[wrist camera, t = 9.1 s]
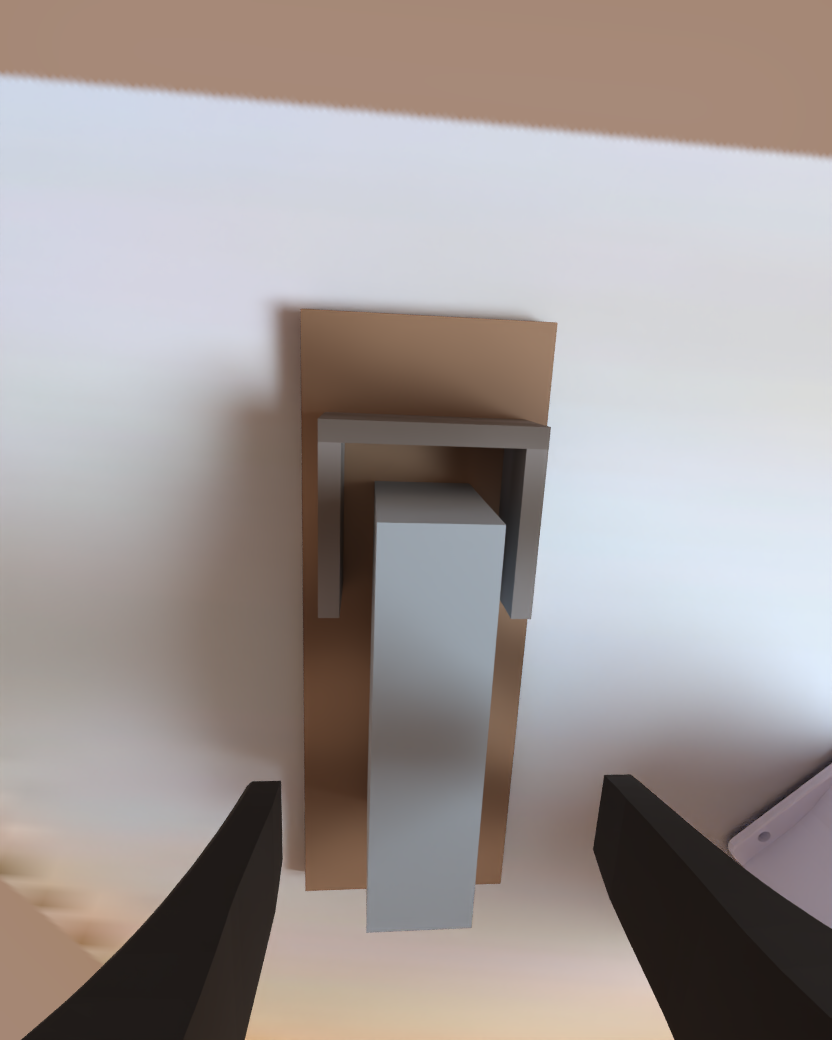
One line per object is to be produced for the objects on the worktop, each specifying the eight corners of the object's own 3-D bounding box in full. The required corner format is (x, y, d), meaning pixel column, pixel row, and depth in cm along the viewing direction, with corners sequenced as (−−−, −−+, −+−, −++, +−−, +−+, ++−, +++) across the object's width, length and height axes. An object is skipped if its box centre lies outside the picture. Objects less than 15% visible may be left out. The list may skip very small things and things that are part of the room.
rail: (447, 799, 21) (471, 927, 16) (366, 801, 21) (366, 932, 16) (468, 483, 18) (506, 525, 13) (374, 480, 18) (376, 522, 13)
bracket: (495, 866, 23) (516, 946, 20) (307, 872, 22) (297, 956, 19) (549, 325, 18) (589, 314, 14) (303, 311, 17) (288, 297, 14)
